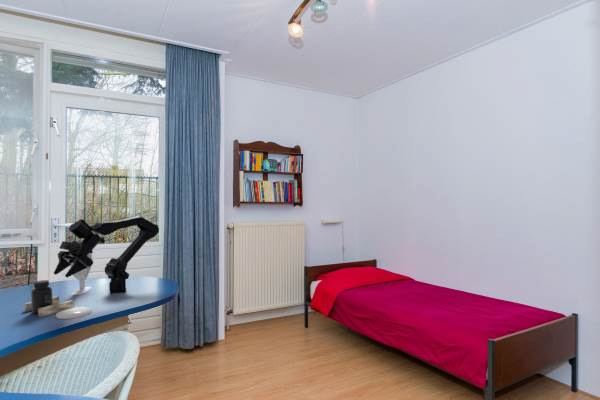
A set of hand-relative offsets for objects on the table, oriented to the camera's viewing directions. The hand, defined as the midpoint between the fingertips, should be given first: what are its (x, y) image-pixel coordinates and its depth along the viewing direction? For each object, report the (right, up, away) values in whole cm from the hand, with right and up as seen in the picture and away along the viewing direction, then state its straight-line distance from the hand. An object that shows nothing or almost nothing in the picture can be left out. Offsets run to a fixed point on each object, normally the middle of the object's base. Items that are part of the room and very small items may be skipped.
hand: (60, 275), depth 147 cm
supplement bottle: (-3, -13, -6) cm, 15 cm away
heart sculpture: (-5, -13, +24) cm, 27 cm away
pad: (+11, -13, -8) cm, 19 cm away
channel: (-2, -13, -3) cm, 14 cm away
